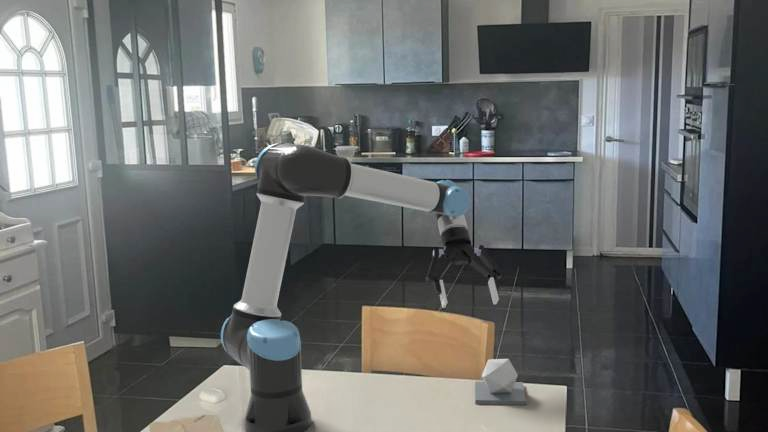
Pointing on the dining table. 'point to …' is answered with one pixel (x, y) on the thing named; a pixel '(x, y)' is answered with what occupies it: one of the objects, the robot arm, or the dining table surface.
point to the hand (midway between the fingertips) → (470, 303)
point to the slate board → (499, 395)
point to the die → (499, 376)
